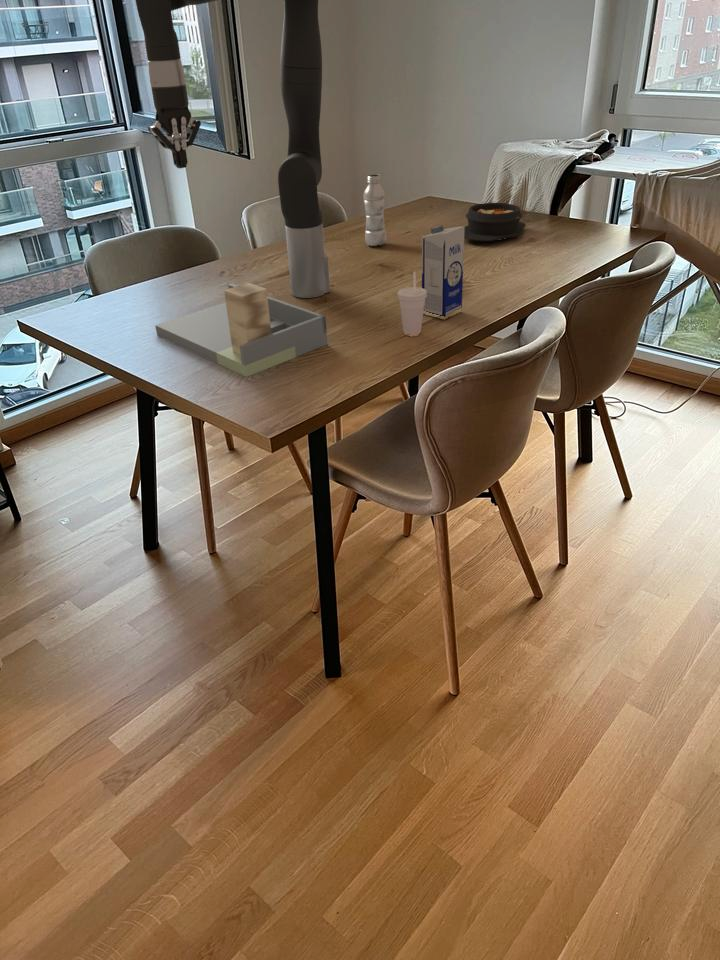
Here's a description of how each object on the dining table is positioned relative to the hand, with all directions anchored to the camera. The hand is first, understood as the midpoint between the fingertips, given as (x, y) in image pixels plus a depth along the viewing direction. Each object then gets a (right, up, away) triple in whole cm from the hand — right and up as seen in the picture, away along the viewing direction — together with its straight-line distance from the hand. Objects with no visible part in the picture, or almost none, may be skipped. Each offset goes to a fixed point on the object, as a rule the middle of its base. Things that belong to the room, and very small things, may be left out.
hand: (181, 167), depth 175 cm
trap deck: (+14, -41, -6) cm, 44 cm away
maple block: (+19, -45, -18) cm, 52 cm away
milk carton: (+61, -33, +3) cm, 69 cm away
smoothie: (+53, -40, -7) cm, 67 cm away
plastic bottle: (+46, -2, +54) cm, 71 cm away
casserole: (+82, +2, +57) cm, 100 cm away
